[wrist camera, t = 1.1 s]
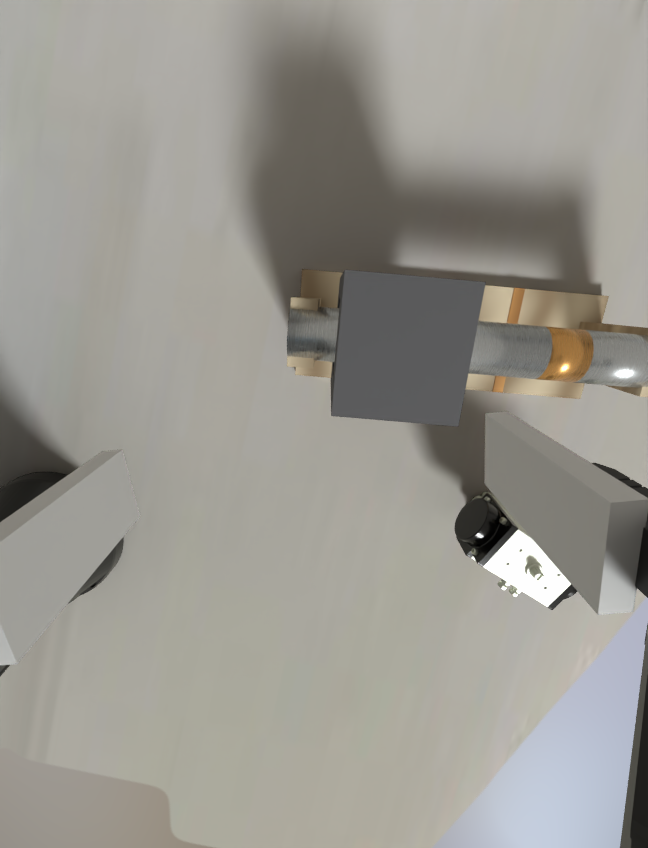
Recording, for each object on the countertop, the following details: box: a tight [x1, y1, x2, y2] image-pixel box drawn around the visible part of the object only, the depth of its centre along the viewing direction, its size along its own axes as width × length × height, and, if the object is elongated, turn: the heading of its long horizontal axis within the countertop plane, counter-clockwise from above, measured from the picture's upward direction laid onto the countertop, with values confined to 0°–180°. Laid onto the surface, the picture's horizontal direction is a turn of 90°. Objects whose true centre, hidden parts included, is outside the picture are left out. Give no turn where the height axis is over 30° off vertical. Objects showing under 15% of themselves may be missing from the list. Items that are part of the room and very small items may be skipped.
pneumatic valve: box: [455, 492, 577, 610], centre depth 41 cm, size 6×12×12 cm, turn 56°
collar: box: [331, 270, 486, 426], centre depth 30 cm, size 8×9×12 cm
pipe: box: [287, 307, 648, 388], centre depth 31 cm, size 29×4×4 cm, turn 85°
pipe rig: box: [287, 269, 648, 399], centre depth 36 cm, size 29×10×11 cm, turn 85°
